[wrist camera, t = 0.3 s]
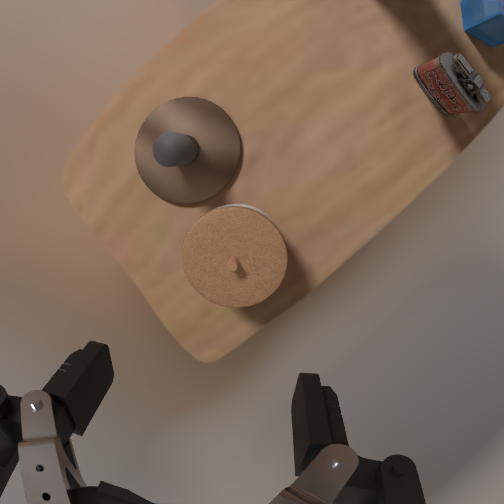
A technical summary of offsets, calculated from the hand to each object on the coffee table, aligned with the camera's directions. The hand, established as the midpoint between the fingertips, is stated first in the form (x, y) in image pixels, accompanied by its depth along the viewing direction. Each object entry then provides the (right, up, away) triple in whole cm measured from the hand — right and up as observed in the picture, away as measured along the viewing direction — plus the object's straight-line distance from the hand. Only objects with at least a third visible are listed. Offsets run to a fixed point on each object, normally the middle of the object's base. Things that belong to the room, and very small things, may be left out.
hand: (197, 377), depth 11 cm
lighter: (+26, +26, +19) cm, 42 cm away
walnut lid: (-6, +17, +23) cm, 29 cm away
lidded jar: (+1, +7, +26) cm, 27 cm away
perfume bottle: (+37, +40, +14) cm, 56 cm away
